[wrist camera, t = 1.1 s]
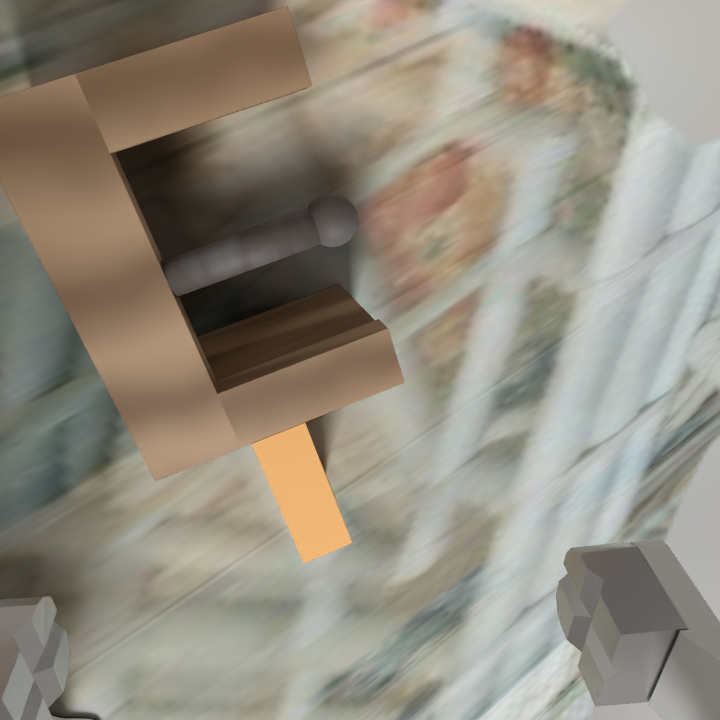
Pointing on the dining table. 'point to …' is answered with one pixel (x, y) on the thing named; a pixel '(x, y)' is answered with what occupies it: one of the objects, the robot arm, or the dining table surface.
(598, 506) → the dining table surface
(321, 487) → the wooden arch block
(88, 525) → the dining table surface
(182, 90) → the notched shelf
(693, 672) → the robot arm
